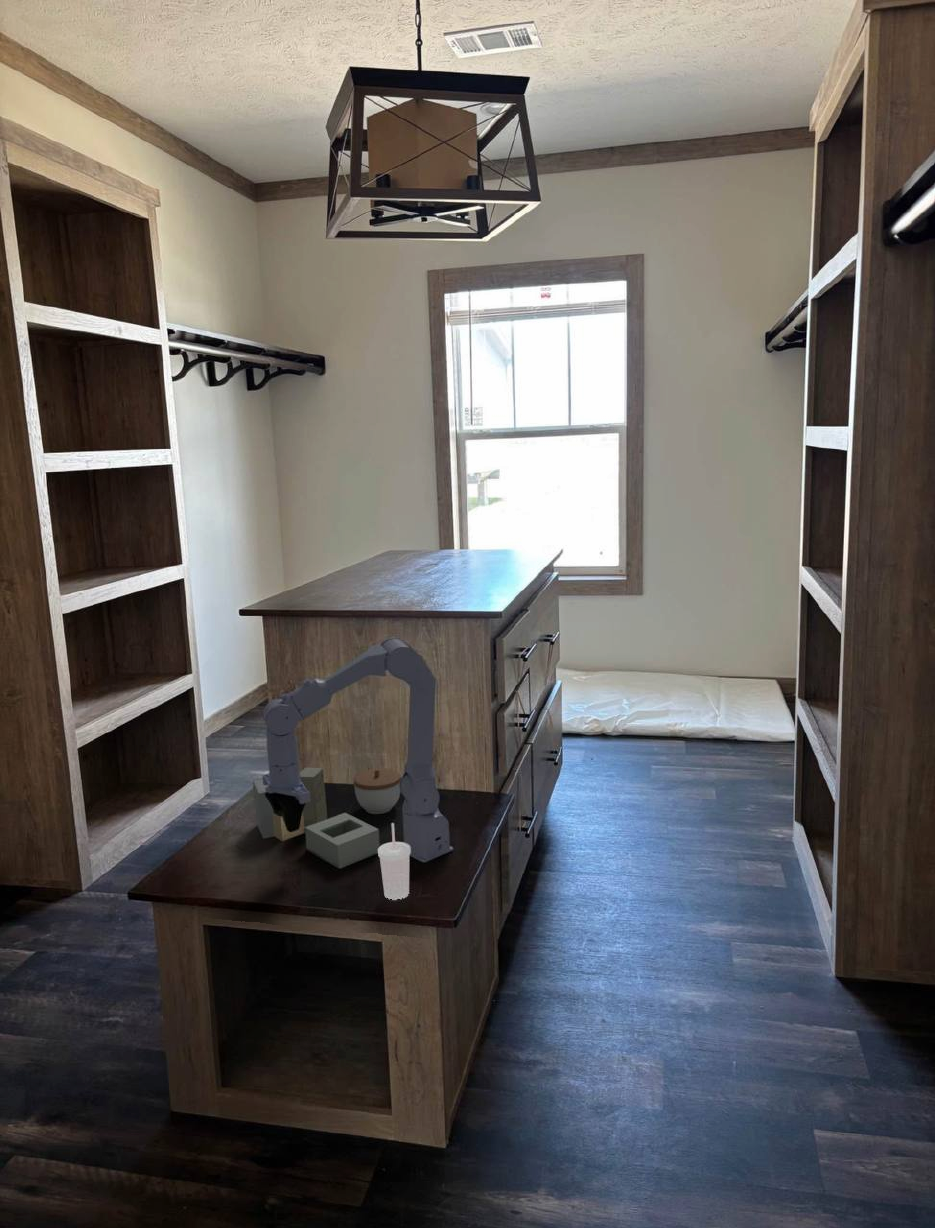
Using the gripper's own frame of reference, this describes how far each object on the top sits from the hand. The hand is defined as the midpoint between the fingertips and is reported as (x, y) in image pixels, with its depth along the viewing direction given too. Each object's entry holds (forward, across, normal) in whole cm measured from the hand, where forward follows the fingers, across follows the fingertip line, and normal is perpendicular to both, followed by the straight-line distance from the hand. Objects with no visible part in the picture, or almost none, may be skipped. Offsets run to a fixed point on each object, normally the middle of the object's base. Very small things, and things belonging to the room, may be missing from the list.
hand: (289, 827), depth 175 cm
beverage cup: (+9, +22, +9) cm, 26 cm away
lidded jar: (+10, -12, +30) cm, 34 cm away
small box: (+9, -20, +7) cm, 23 cm away
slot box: (+9, 0, +12) cm, 15 cm away
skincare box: (+9, -16, +15) cm, 24 cm away
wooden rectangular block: (+2, 0, 0) cm, 2 cm away
